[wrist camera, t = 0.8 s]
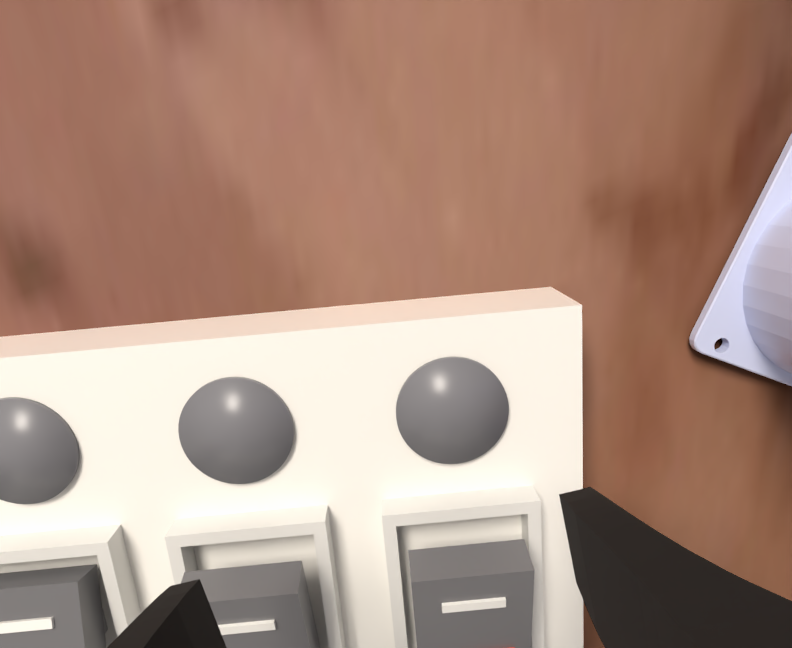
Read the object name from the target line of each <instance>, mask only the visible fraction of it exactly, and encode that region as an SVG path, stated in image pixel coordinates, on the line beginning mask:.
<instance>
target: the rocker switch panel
mask: <svg viewBox="0 0 792 648" xmlns="http://www.w3.org/2000/svg"><path fill="white" fill-rule="evenodd" d="M580 489H583V420H582V305H581V304H579V303H578V302H576V301H574V300H573V299H571V298H569V297H567V296H566V295H564V294H562V293H561V292H559V291H557V290H555V289H554V288H552V287H543V288H532V289H521V290H510V291H499V292H488V293H477V294H466V295H455V296H444V297H433V298H422V299H411V300H400V301H389V302H378V303H367V304H356V305H345V306H334V307H323V308H312V309H301V310H290V311H279V312H268V313H257V314H246V315H235V316H224V317H213V318H202V319H191V320H180V321H169V322H158V323H147V324H136V325H125V326H114V327H103V328H92V329H81V330H70V331H59V332H48V333H37V334H26V335H15V336H4V337H0V573H10V572H20V571H31V570H41V569H52V568H62V567H72V566H83V565H93V564H97V567H98V576H99V585H100V594H101V603H102V612H103V621H104V630H105V638H106V647H108V646H109V645H110V644H111V643H112V642H113V641H114V640H115V639H116V638H117V637H118V636H119V635H120V634H121V633H122V632H123V631H124V630H125V629H126V628H127V627H128V626H129V625H130V624H131V623H132V622H133V621H134V620H135V619H136V618H137V617H138V616H139V615H140V614H141V613H142V612H143V611H144V610H145V609H146V608H147V607H148V606H149V605H150V604H151V603H152V602H153V601H154V600H155V599H156V598H157V597H158V596H159V595H160V594H161V593H163V592H164V591H165V590H166V589H167V588H168V587H170V586H172V585H176V584H181V581H182V578H183V575H184V572H188V571H198V570H208V569H219V568H229V567H240V566H250V565H260V564H271V563H281V562H291V561H302V564H303V568H304V573H305V578H306V582H307V587H308V592H309V597H310V601H311V606H312V611H313V615H314V620H315V625H316V630H317V634H318V639H319V644H320V648H417V641H416V630H415V619H414V609H413V598H412V587H411V576H410V565H409V554H408V550H415V549H425V548H436V547H446V546H457V545H467V544H477V543H488V542H498V541H508V540H519V539H524V540H525V543H526V546H527V549H528V552H529V555H530V558H531V561H532V564H533V567H534V570H535V573H534V595H533V616H532V637H531V648H583V598H582V595H581V593H580V591H579V588H578V586H577V583H576V579H575V574H574V569H573V563H572V558H571V553H570V548H569V543H568V538H567V533H566V528H565V522H564V517H563V512H562V507H561V502H560V497H559V494H563V493H567V492H571V491H575V490H580Z"/></svg>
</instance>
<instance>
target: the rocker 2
mask: <svg viewBox="0 0 792 648" xmlns="http://www.w3.org/2000/svg"><path fill="white" fill-rule="evenodd" d="M408 554H409V565H410V576H411V587H412V598H413V609H414V619H415V630H416V641H417V648H531V637H532V616H533V595H534V573H535V570H534V567H533V564H532V561H531V558H530V555H529V552H528V549H527V546H526V543H525V540H524V539H519V540H508V541H498V542H488V543H477V544H467V545H457V546H446V547H436V548H425V549H415V550H408Z"/></svg>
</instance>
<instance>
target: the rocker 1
mask: <svg viewBox="0 0 792 648" xmlns="http://www.w3.org/2000/svg"><path fill="white" fill-rule="evenodd" d="M0 648H107V647H106V638H105V630H104V621H103V612H102V603H101V594H100V585H99V576H98V567H97V564H93V565H83V566H72V567H62V568H52V569H41V570H31V571H20V572H10V573H0Z"/></svg>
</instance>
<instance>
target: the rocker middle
mask: <svg viewBox="0 0 792 648" xmlns="http://www.w3.org/2000/svg"><path fill="white" fill-rule="evenodd" d="M198 579H200V581H201V583H202V586H203V588H204V591H205V594H206V596H207V599H208V601H209V604H210V606H211V609H212V611H213V614H214V617H215V619H216V622H217V624H218V627H219V629H220V632H221V634H222V637H223V640H224V642H225V645H226V647H227V648H320V644H319V639H318V634H317V630H316V625H315V620H314V615H313V611H312V606H311V601H310V597H309V592H308V587H307V582H306V578H305V573H304V568H303V564H302V561H291V562H281V563H271V564H260V565H250V566H240V567H229V568H219V569H208V570H198V571H188V572H184V575H183V578H182V581H181V583H185V582H189V581H193V580H198Z"/></svg>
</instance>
